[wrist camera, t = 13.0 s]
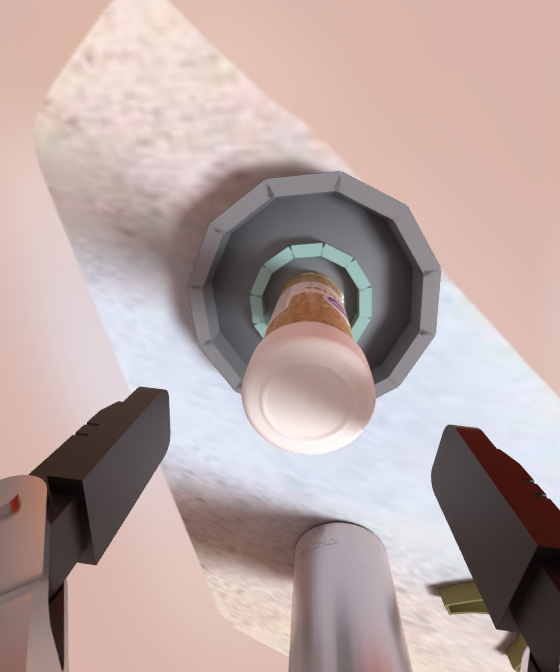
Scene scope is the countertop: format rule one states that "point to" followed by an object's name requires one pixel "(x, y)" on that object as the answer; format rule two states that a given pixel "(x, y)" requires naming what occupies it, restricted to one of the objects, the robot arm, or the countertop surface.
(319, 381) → the sprinkles bottle
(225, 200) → the countertop surface
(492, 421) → the countertop surface
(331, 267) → the grey ring dish
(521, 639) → the cookie cutter
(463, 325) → the countertop surface
